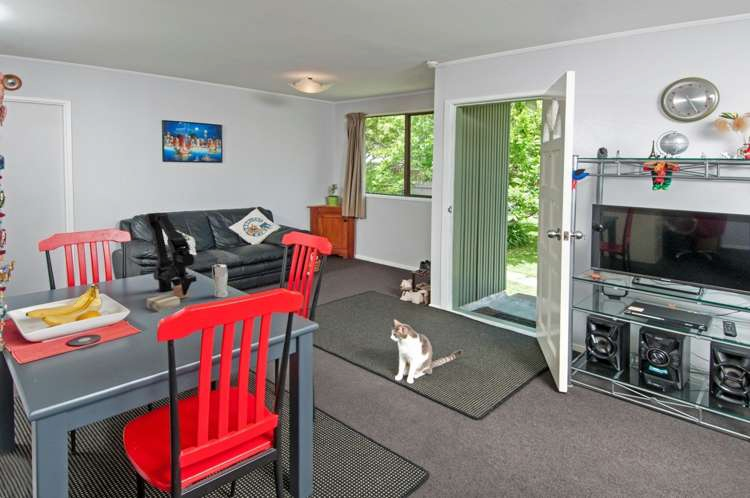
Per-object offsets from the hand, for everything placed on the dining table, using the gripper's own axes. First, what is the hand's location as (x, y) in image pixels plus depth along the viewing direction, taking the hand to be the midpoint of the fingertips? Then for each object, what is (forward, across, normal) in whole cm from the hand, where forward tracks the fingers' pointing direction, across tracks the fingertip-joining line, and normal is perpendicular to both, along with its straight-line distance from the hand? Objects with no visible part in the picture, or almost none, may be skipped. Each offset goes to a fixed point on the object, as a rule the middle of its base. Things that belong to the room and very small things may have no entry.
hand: (181, 294), depth 229 cm
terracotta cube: (+1, 0, 0) cm, 1 cm away
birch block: (+2, +7, -13) cm, 15 cm away
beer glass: (+2, +13, +13) cm, 18 cm away
